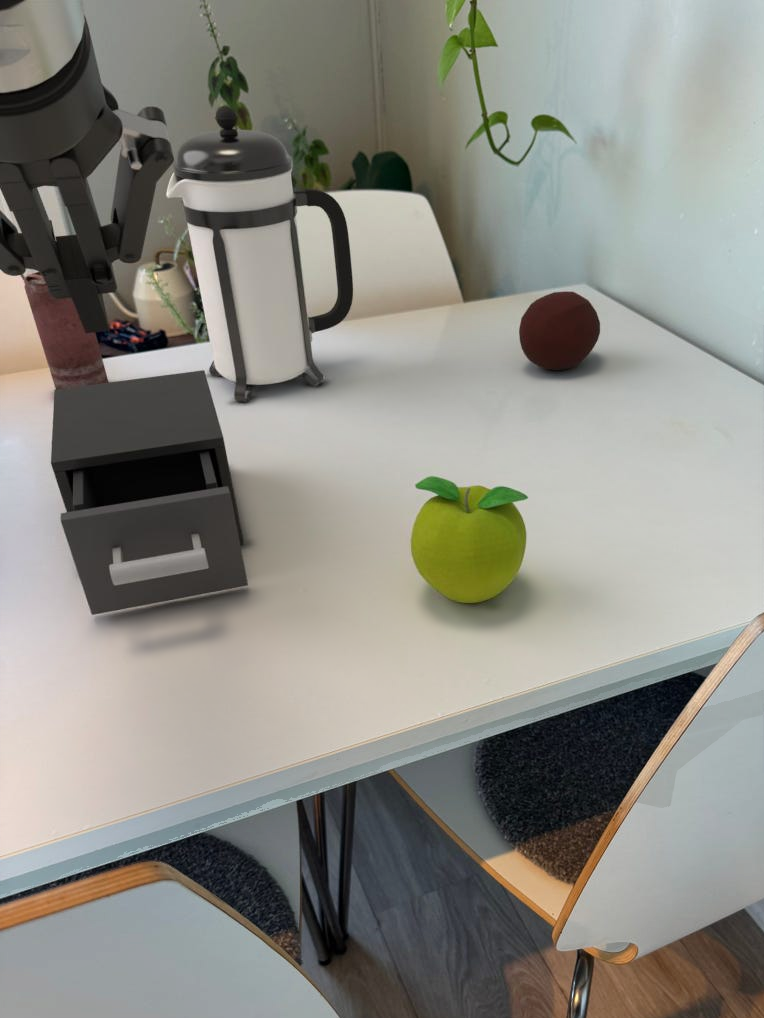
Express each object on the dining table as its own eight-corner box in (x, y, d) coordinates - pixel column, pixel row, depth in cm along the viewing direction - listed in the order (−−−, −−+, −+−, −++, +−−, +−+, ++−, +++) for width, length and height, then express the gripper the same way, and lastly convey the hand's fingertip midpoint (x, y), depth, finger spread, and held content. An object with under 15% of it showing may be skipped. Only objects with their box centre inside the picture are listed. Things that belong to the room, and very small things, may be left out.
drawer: (255, 614, 75) (237, 518, 69) (92, 646, 72) (59, 549, 66) (227, 504, 89) (210, 418, 83) (90, 527, 86) (62, 439, 80)
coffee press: (300, 412, 108) (261, 121, 89) (182, 395, 112) (121, 113, 93) (362, 359, 120) (339, 95, 102) (254, 346, 125) (213, 90, 106)
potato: (502, 368, 118) (502, 294, 112) (567, 345, 124) (571, 274, 118) (550, 388, 113) (553, 312, 107) (616, 363, 119) (622, 290, 113)
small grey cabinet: (244, 545, 85) (223, 437, 78) (86, 573, 81) (50, 462, 75) (224, 469, 97) (204, 369, 90) (85, 491, 93) (54, 389, 86)
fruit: (434, 555, 83) (430, 454, 77) (535, 571, 81) (538, 469, 75) (398, 613, 76) (390, 508, 70) (507, 633, 74) (508, 525, 68)
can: (62, 384, 115) (27, 268, 106) (114, 382, 115) (84, 266, 107) (50, 404, 110) (12, 284, 101) (104, 402, 110) (71, 282, 102)
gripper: (-182, 116, 35) (-4, 381, 57) (174, 95, 38) (209, 353, 61) (-215, -62, 35) (-27, 269, 58) (137, -67, 39) (185, 248, 61)
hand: (93, 312), depth 59 cm, fingers closed
